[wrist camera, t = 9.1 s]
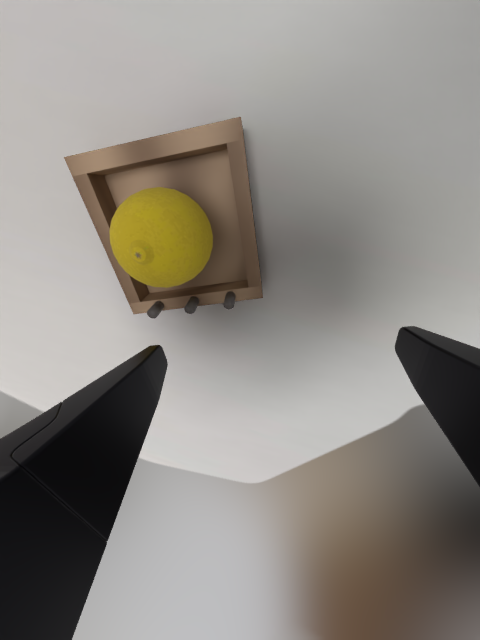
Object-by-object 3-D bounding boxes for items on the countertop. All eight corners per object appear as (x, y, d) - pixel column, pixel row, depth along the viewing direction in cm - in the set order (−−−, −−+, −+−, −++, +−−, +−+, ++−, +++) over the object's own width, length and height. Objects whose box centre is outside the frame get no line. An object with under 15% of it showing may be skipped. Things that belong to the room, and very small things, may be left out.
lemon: (133, 219, 17) (51, 238, 10) (188, 170, 15) (133, 151, 8) (181, 278, 19) (140, 326, 12) (234, 240, 17) (221, 271, 10)
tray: (242, 127, 15) (239, 107, 11) (261, 286, 20) (263, 306, 16) (89, 162, 16) (44, 153, 12) (145, 301, 21) (124, 323, 18)
